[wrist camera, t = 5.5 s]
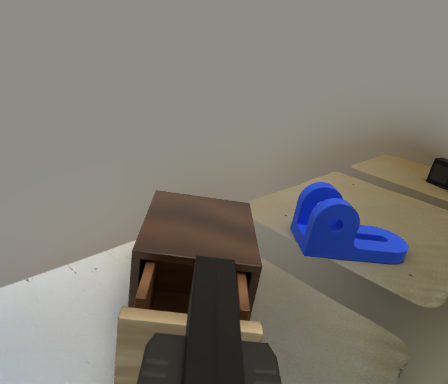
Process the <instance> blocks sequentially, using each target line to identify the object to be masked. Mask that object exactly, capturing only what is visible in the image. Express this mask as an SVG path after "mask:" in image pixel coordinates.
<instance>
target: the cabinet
mask: <svg viewBox="0 0 448 384" xmlns="http://www.w3.org/2000/svg"><path fill="white" fill-rule="evenodd" d="M196 255H198V256H206V257H214V258H222V259H231V260H235V268H236V271H243V272H245V273H246V281H247V290H248V298H249V306H250V314H249V318H248V321H249V320H250V316H251V312H252V308H253V303H254V299H255V295H256V291H257V287H258V282H259V278H260V273H261V269H262V264H261V259H260V254H259V249H258V244H257V239H256V234H255V229H254V224H253V218H252V213H251V208H250V204H249V203H243V202H236V201H228V200H221V199H215V198H207V197H200V196H193V195H186V194H179V193H171V192H164V191H156V192H155V194H154V197H153V199H152V202H151V205H150V207H149V210H148V212H147V215H146V217H145V220H144V222H143V225H142V227H141V230H140V232H139V235H138V238H137V240H136V242H135V245H134V247H133V250H132V260H131V274H130V288H129V301H128V307H130V308H134V307H135V297H136V294H137V291H138V287H139V284H140V281H141V278H142V275H143V271H144V268H145V265H146V262H147V260H154V261H162V262H170V263H178V264H186V265H194V266H195V260H196Z"/></svg>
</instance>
